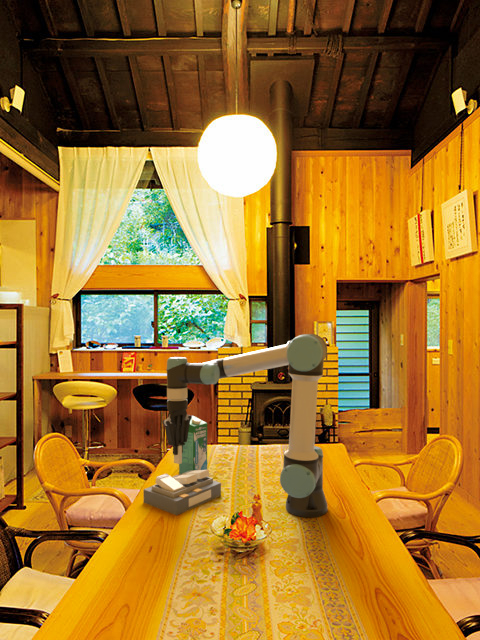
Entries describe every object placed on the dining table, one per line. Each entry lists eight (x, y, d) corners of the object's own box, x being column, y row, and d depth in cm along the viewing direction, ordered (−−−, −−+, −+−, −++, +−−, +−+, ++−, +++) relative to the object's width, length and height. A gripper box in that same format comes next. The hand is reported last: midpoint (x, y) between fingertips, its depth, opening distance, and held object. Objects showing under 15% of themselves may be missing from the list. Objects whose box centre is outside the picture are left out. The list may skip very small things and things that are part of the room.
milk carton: (193, 478, 205) (193, 421, 205) (178, 473, 210) (179, 418, 210) (207, 472, 212) (207, 417, 212) (192, 468, 217) (192, 415, 217)
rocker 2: (197, 480, 180) (196, 473, 180) (187, 484, 176) (186, 477, 176) (179, 481, 186) (178, 474, 186) (170, 484, 182) (169, 477, 182)
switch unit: (221, 495, 185) (221, 478, 185) (176, 515, 166) (177, 496, 166) (188, 485, 196) (188, 469, 196) (143, 502, 177) (143, 485, 177)
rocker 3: (209, 475, 185) (208, 469, 186) (200, 479, 181) (199, 472, 182) (191, 476, 191) (190, 470, 192) (183, 479, 187) (182, 473, 188)
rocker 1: (182, 491, 175) (184, 485, 174) (173, 495, 171) (174, 489, 170) (165, 479, 181) (166, 473, 180) (155, 482, 177) (156, 476, 176)
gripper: (182, 395, 180) (183, 457, 180) (157, 400, 170) (157, 465, 170) (196, 397, 176) (197, 460, 176) (171, 402, 165) (172, 469, 165)
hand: (178, 462), depth 173 cm, fingers closed
